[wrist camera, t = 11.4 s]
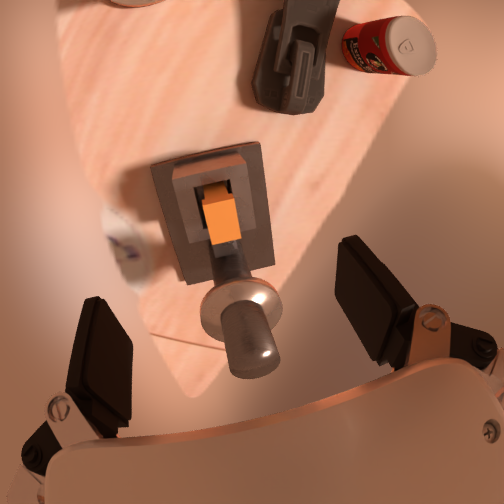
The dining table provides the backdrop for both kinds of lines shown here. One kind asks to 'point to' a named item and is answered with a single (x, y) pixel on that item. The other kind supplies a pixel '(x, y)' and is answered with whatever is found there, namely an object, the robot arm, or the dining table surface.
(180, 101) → the dining table surface
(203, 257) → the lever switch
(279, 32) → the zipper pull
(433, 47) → the canned food
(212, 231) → the orange tapered block
